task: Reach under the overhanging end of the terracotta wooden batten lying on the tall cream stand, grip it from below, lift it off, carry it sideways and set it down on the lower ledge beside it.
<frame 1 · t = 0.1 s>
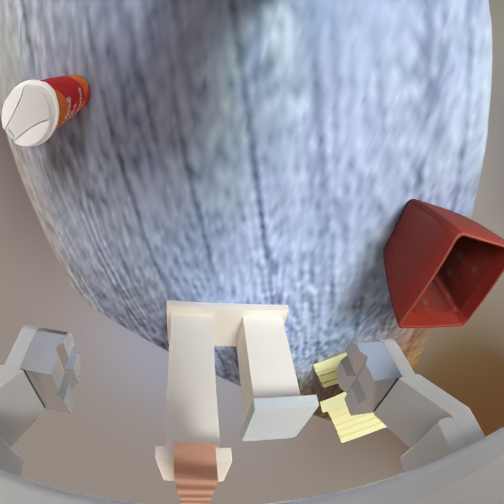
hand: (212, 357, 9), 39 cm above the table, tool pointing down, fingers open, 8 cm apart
slatted curved stool: (344, 364, 82), on the table
paper cup: (74, 92, 35), on the table
stand: (225, 323, 65), on the table
plant pot: (417, 231, 57), on the table
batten: (193, 468, 36), point 32 cm above the table, touching stand
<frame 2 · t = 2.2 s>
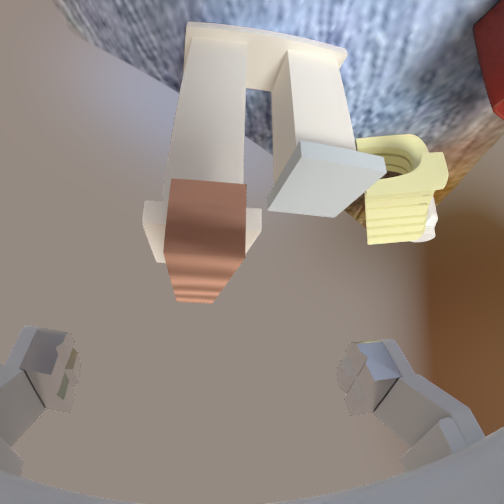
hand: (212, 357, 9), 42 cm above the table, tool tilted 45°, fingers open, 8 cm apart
slatted curved stool: (390, 150, 67), on the table
stand: (261, 58, 43), on the table
jar: (413, 189, 85), on the table
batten: (199, 240, 30), point 32 cm above the table, touching stand
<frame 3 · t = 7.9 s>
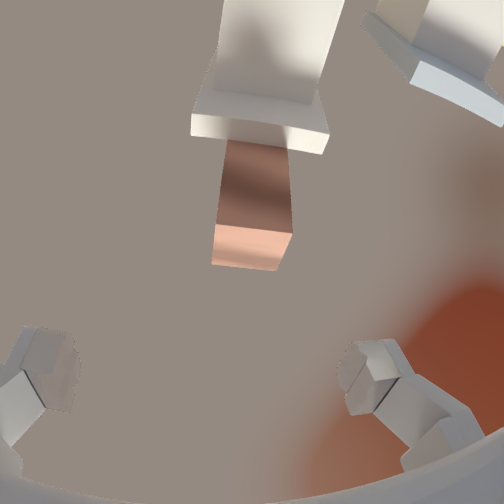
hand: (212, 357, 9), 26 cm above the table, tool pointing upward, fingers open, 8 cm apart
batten: (258, 115, 25), point 32 cm above the table, touching stand
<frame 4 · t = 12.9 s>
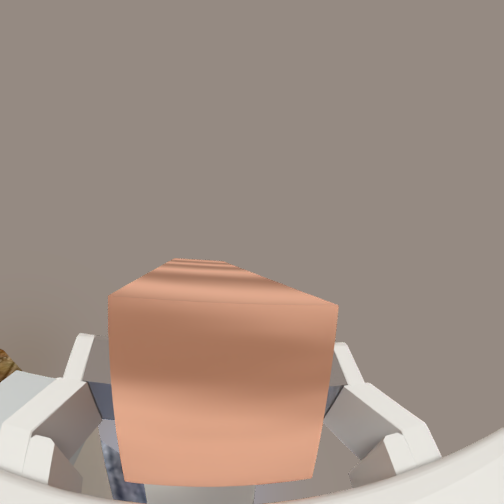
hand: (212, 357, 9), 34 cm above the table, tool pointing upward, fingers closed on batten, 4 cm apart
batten: (200, 345, 18), point 32 cm above the table, touching gripper, stand
when the fingers open (29 cm above the table, at t = 19.3 s): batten drops 2 cm, resting on stand.
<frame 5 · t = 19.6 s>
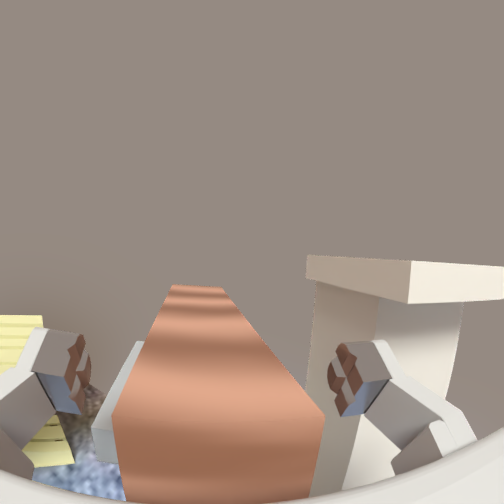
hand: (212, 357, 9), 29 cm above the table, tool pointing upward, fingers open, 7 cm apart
slatted curved stool: (21, 444, 32), on the table
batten: (198, 383, 18), point 24 cm above the table, touching stand
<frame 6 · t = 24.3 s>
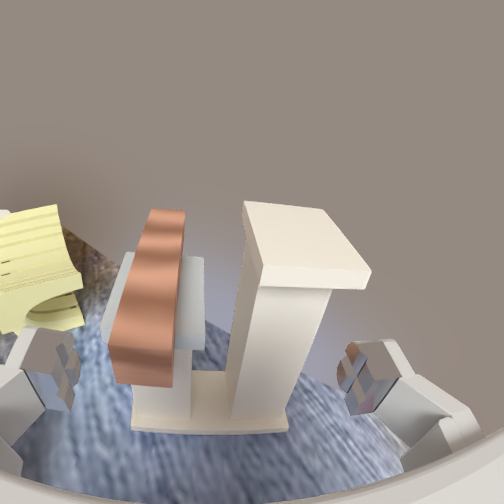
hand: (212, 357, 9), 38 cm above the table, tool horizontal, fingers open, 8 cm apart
slatted curved stool: (45, 315, 56), on the table
stand: (208, 403, 47), on the table
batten: (157, 293, 32), point 24 cm above the table, touching stand
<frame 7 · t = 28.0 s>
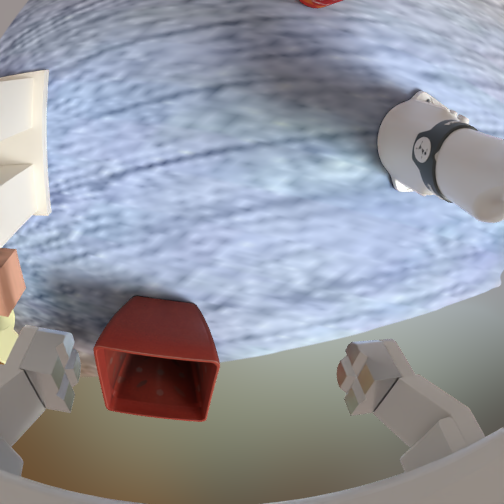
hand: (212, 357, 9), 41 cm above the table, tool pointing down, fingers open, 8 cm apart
stand: (18, 144, 39), on the table
plant pot: (162, 322, 61), on the table
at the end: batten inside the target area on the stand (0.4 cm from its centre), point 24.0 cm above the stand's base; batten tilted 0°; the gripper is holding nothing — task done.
